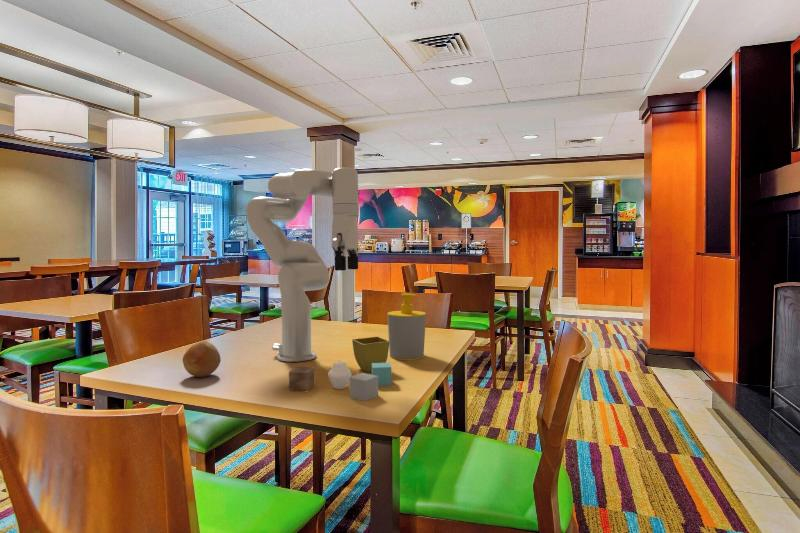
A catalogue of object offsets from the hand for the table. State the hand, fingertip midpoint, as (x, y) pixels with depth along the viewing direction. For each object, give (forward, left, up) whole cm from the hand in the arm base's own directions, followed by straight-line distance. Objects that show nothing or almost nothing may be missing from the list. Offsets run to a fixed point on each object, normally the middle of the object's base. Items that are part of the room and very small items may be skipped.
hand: (346, 269), depth 135 cm
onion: (-38, -17, -31) cm, 51 cm away
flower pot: (+5, +5, -31) cm, 31 cm away
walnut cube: (-5, -18, -30) cm, 36 cm away
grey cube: (+13, -19, -30) cm, 38 cm away
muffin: (+4, -14, -31) cm, 34 cm away
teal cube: (+13, -7, -30) cm, 34 cm away
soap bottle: (+10, +25, -30) cm, 41 cm away
